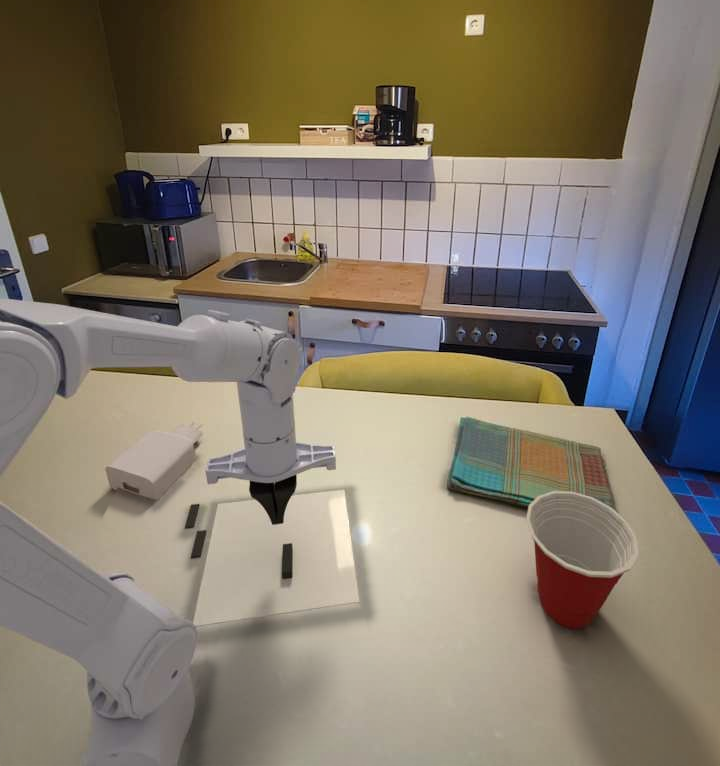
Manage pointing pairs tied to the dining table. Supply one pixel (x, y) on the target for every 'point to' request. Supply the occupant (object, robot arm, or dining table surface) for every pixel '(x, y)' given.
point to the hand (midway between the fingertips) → (277, 517)
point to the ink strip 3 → (287, 561)
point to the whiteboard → (277, 560)
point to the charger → (155, 461)
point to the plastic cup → (578, 554)
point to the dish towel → (523, 465)
